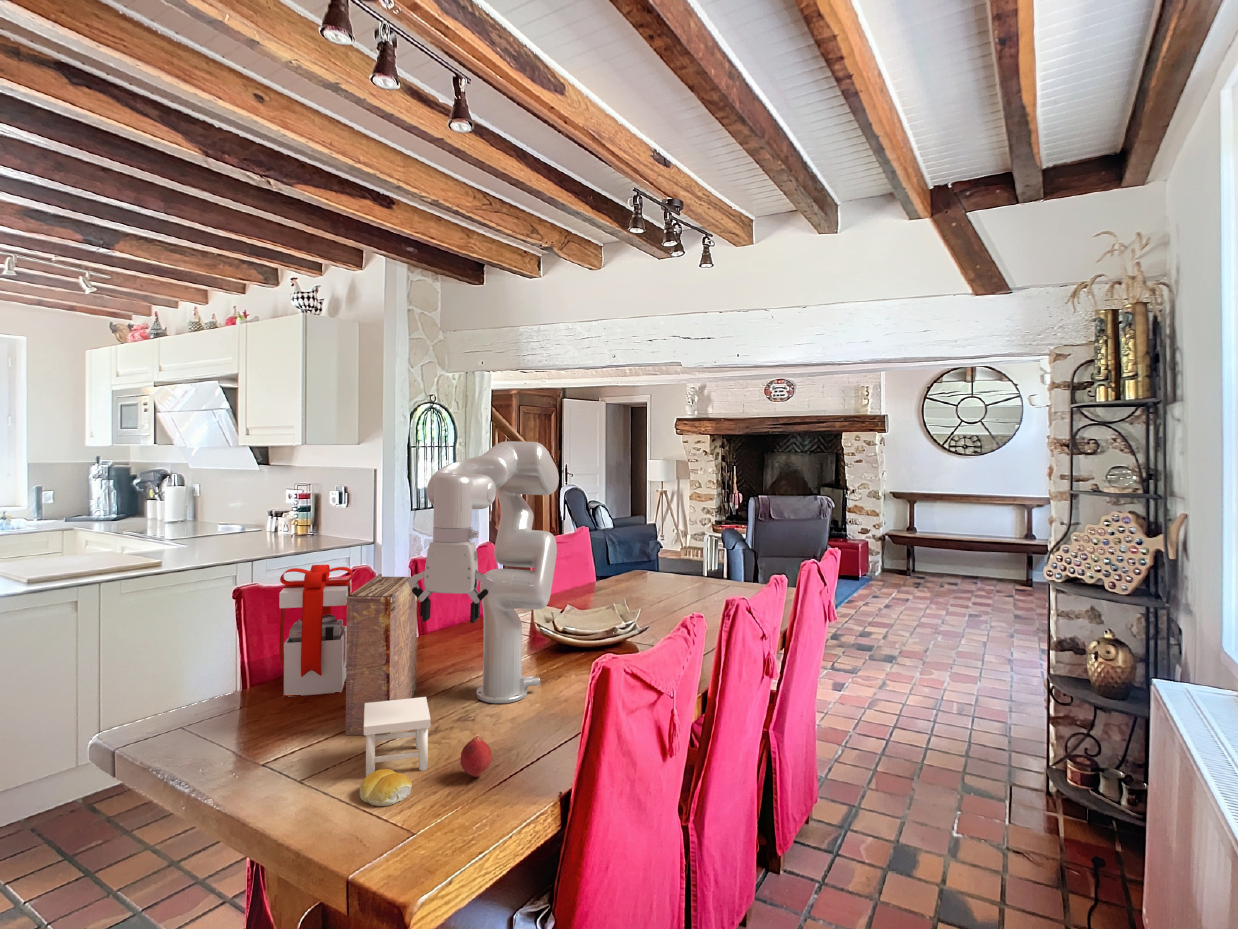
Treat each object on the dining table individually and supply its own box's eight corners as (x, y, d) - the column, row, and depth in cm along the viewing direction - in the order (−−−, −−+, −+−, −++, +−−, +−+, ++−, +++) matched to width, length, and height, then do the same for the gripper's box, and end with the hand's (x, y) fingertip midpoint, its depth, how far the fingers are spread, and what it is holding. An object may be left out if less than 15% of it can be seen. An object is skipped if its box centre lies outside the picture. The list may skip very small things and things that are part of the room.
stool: (425, 744, 143) (426, 696, 142) (429, 770, 131) (430, 719, 131) (364, 751, 138) (364, 703, 138) (363, 779, 127) (363, 727, 127)
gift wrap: (273, 700, 164) (273, 576, 163) (286, 676, 181) (286, 564, 180) (349, 694, 169) (350, 574, 168) (355, 671, 185) (356, 562, 184)
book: (379, 692, 171) (380, 573, 170) (416, 692, 172) (417, 573, 171) (345, 736, 146) (346, 596, 145) (389, 735, 146) (390, 596, 145)
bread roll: (386, 779, 128) (386, 758, 128) (419, 793, 123) (419, 771, 123) (348, 797, 121) (348, 775, 121) (381, 813, 116) (381, 790, 116)
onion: (476, 787, 125) (476, 744, 125) (453, 778, 128) (454, 736, 128) (497, 775, 130) (498, 733, 130) (475, 766, 133) (475, 726, 133)
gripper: (498, 535, 141) (496, 618, 141) (415, 533, 141) (413, 615, 141) (491, 539, 133) (488, 626, 133) (403, 536, 134) (401, 624, 134)
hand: (449, 621), depth 137 cm, fingers open, 9 cm apart
